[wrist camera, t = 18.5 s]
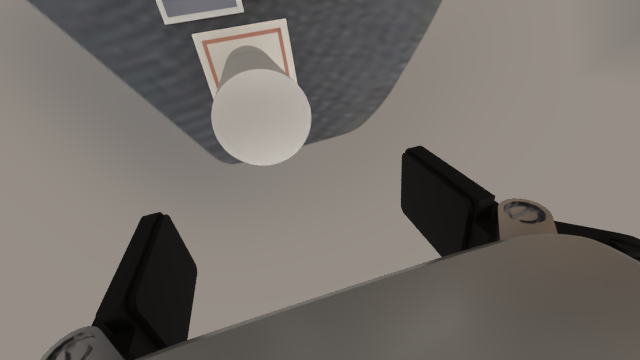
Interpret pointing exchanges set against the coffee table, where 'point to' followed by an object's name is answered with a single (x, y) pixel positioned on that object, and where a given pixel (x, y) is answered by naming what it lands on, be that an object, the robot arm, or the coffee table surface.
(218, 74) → the marked paper
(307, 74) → the coffee table surface
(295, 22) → the coffee table surface
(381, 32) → the coffee table surface
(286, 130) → the cylindrical container
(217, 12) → the ink pad
